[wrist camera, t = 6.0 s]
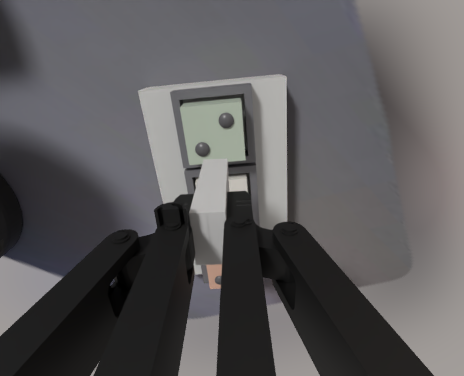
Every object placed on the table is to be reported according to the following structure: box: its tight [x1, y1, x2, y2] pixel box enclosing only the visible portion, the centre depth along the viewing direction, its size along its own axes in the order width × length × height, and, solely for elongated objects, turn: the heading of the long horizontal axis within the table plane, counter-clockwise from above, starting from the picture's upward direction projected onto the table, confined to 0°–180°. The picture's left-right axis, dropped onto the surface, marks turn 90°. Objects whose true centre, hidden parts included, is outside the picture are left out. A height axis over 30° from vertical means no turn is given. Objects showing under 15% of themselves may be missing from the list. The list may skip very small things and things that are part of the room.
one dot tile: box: [195, 173, 248, 192], centre depth 25 cm, size 4×4×2 cm
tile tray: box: [138, 74, 287, 283], centre depth 27 cm, size 12×20×5 cm, turn 5°
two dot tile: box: [180, 98, 246, 165], centre depth 22 cm, size 4×4×2 cm
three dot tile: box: [206, 264, 222, 289], centre depth 27 cm, size 4×4×2 cm
